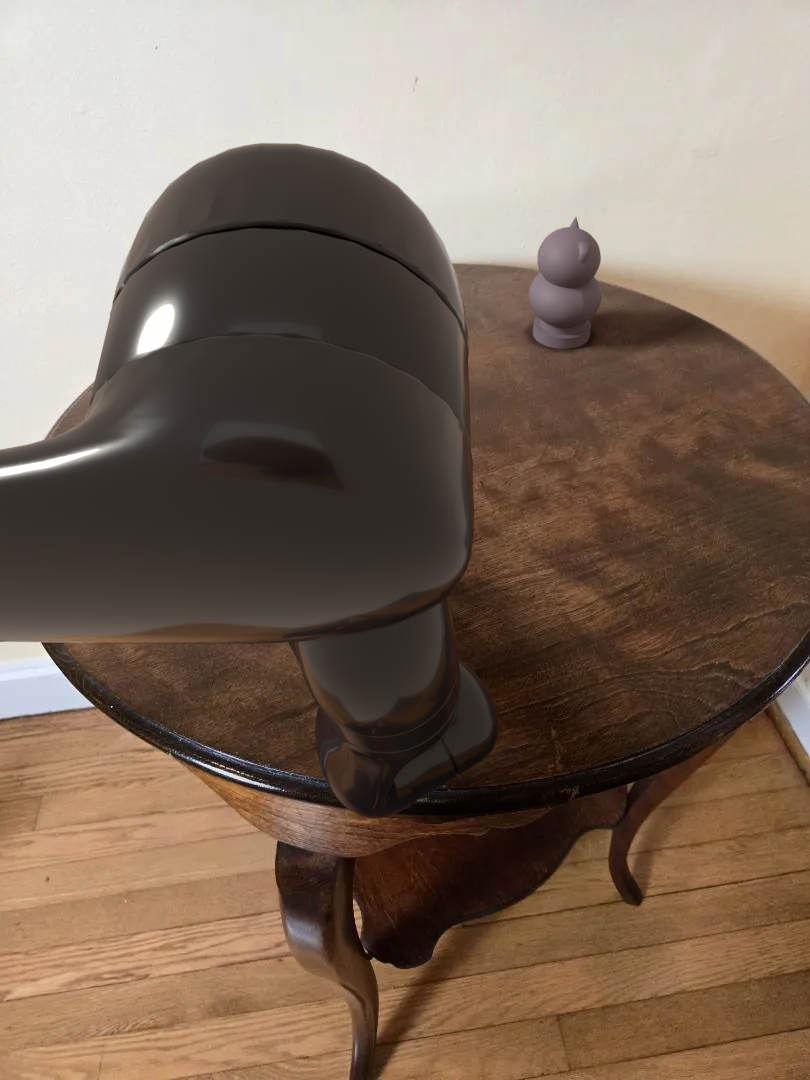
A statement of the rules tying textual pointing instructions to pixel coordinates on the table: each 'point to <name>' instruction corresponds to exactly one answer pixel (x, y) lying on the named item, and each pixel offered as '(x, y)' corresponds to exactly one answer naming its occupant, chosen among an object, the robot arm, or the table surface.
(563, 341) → the cat figurine
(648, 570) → the table surface
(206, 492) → the robot arm
